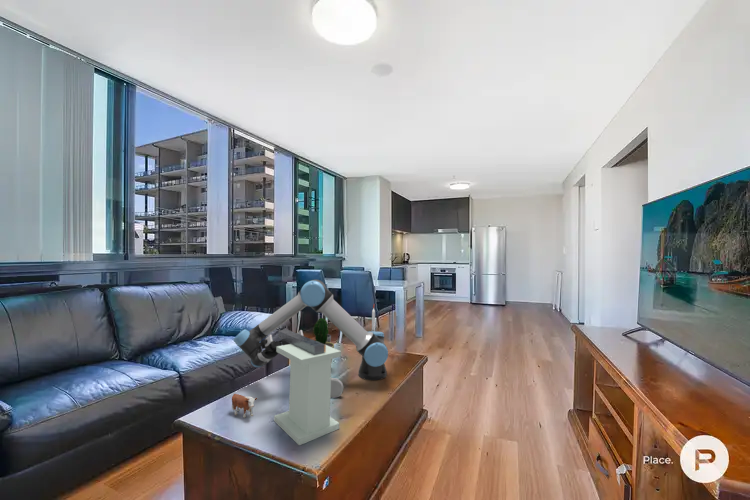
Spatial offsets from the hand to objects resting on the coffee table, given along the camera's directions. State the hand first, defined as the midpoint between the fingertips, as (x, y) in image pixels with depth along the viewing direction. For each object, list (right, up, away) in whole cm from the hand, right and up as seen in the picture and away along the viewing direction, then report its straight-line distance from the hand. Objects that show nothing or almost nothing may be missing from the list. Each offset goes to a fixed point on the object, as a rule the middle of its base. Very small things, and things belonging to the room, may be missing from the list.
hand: (287, 335), depth 127 cm
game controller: (+12, -31, +11) cm, 35 cm away
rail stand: (+11, -30, -14) cm, 34 cm away
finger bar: (+7, -2, -7) cm, 10 cm away
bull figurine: (-15, -29, -8) cm, 34 cm away
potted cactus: (+6, -32, +40) cm, 51 cm away
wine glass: (+5, -32, +60) cm, 68 cm away
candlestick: (+35, -33, +63) cm, 79 cm away
